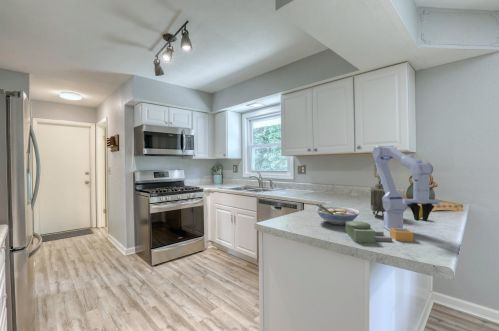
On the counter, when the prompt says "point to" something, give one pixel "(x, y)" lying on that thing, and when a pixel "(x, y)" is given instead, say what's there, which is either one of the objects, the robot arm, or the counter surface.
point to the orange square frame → (401, 234)
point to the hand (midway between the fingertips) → (420, 220)
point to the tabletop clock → (377, 198)
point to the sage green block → (364, 232)
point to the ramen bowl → (337, 214)
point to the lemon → (420, 213)
